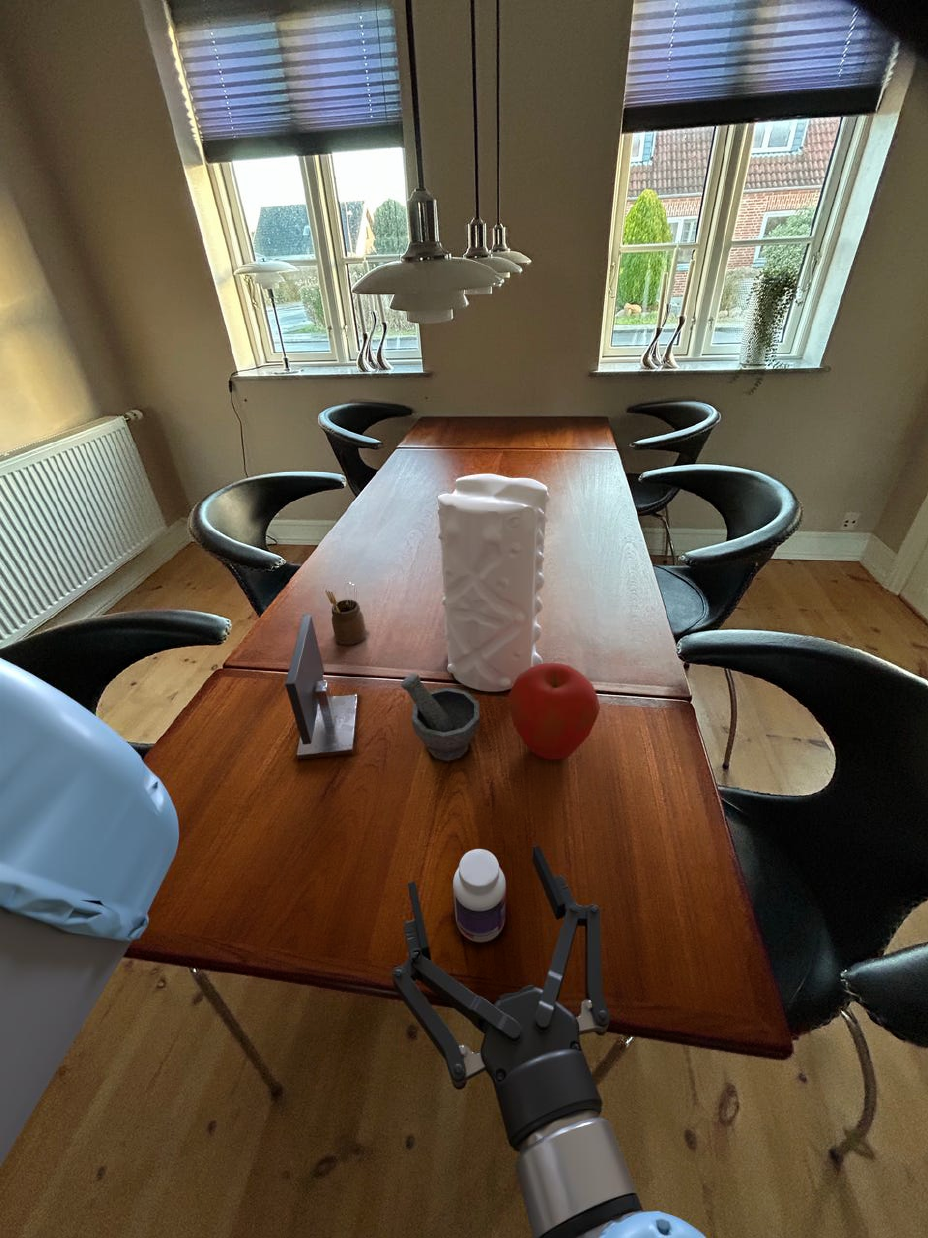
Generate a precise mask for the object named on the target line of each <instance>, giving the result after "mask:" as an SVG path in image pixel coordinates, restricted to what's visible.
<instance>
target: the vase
mask: <svg viewBox="0 0 928 1238" xmlns="http://www.w3.org/2000/svg"><path fill="white" fill-rule="evenodd" d="M454 485H455V489H454V491H453V492H452V493H443V494H439V495H438V496H437V502H438V505H437V506H438V509H437V514H438V524H439V533H438V539H439V540H440V541H439V543H440V557H441V558H440V559H441V560H440V561H441V574H442V589H443V598H442V600H441V604H442V606H444V620H445V633H444V637H445V638H446V650H447V668H446V671H447V672H448V673H450V674H453V677H454V679H455V680H456V681H458V683H460V684H461V685H464V686H466V687H468V688H471V689H475V690H478V691H481V692H482V691H483V692H504V691H507V690H511V689H512V687H513V685H514V683H515V681H516V679H517V677H518V675H520V674H521V673H522V672H524V671H525V670H526V669H528V668H530V667H533V666H536V665H540V664H543V658H542V657H541V655H540V654H538V653H537V649H536V643H537V641H539V640H540V638H541V636H542V627H541V626H540V624H538V615H539V614H540V613H541V612H542V610H543V607H544V604H543V601H542V600H541V598H540V597H541V589H543V587H544V585H545V576H544V575H543V566H544V561H545V557H544V553H545V538H546V537H545V534H546V523H547V522H548V520H549V517H548V515H547V504H548V503H549V501H550V499H551V496H550V494H549V493H548V488H547V487H548V486H547V485H545V484H544V483H542V482H540V481H538V480H536V479H534V478H530V477H507V476H504V475H501V474H500V475H499V474H495V473H478V474H471V475H465V476H461V477H458V478H457V479H456V480H455V482H454Z"/></svg>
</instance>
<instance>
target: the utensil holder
mask: <svg viewBox="0 0 928 1238" xmlns="http://www.w3.org/2000/svg"><path fill="white" fill-rule="evenodd" d="M347 585H349V582H347V583H346V585H344V587H343V588H344V594H347V588H348V586H347ZM351 585H352V586H356V585H355V583H354V582H351ZM353 591H354V592H353V594H354V595H355V597H357V596H358V595H357V594H358V591H357V588H356V587H353ZM325 594H326V596H327V598H328V600H329V602H330V604H332V606H331V615H332V616H331V625H332V629H333V634H334V638H335V640H336V641H337V643H339V644H340V645H345V646H346V645H347V646H350V645H355V644H357V643H360V642H361V641H363V640H364V638H365V637H366V633H367V632H366V631H367V630H366V623H365V618H364V615H363V614H364V613H363V612H362V611H361V607H360V604H359V602H358V601H357V598H353V599H348V598H347V596H343V598H344V599H341V600H339V601H337V599H336V597H335V595H334V593H333V592H332V591H329V590H327V589H326V590H325ZM349 594H352V592H351V586H349Z"/></svg>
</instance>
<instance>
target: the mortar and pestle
mask: <svg viewBox="0 0 928 1238" xmlns="http://www.w3.org/2000/svg"><path fill="white" fill-rule="evenodd" d="M401 688H402V689H403V690H404V691H407V693H408V695H409V696H410V698H411V700H412V701H413V707H412V716H411V723H412V727H413V730H414V733H415V734H416V736H417V737H418V738H419V740H421V741H422V743H423V744H424V745H425V746H426V747H427V750H428V752H429V753H431V754H430V755H432V756H433V757H434V759H438V760H442V761H447V762H449V761H452V760H456V759H460V758H462V756H463V755H464V754H465V753H466V752H467V751H468V750H469V743H470V742H471V741H472V740H473V739H474V738H475V737H476V735H477V734H478V732H479V728H480V702H479V701H478V700H476V698H474V697H473V696H472V695H471V694H470V693H469V692H468V691H467V690H461V689H458V688H452V687H444V688H438V689H435V690H430V691H429V690H428V689H427V687H426V686H425V685H424V684H423V683H422V681H421V676H420V675H419V674H417V673H412V674H409V675H408V676H406V677H405V678H404V679H403V680H402V682H401Z"/></svg>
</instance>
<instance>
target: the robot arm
mask: <svg viewBox="0 0 928 1238" xmlns="http://www.w3.org/2000/svg"><path fill="white" fill-rule="evenodd" d="M179 839H180V827H179V820H178V814H177V810H176V808H175V805H174V803H173V801H172V798H171V796H170V794H169V792H168V789H166V786H165V785H164V784H163V782H162V780H161V779H160V778H159V777H158V776H157V775H156V774H155V773H154V772H153V771H151V769H150V768H149V767H148V766H147V765H146V763H145V762H144V761H143V758H142V755H140V754H139V753H138V752H137V750H135V749H134V747H133V746H131V745H130V743H129V742H128V741H126V739H124V738H123V737H122V736H121V735H120V734H119V733H118V732H117V731H115V730H114V729H113V728H112V727H111V726H109V725H108V724H107V723H106V722H105V721H103V720H102V719H101V718H99V717H98V716H97V715H96V714H94V713H92V712H91V711H90V710H88V709H87V708H86V707H85V706H83V705H82V704H81V703H79V702H78V701H76V700H74V699H73V698H71V697H70V696H68V695H67V694H66V693H64V692H62V691H61V690H59V689H57V688H56V687H54V686H52V685H51V684H49V683H47V682H46V681H44V680H42V679H41V678H39V677H37V676H35V675H34V674H32V673H30V672H29V671H26V670H25V669H23V668H21V667H19V666H18V665H16V664H13V663H11V662H9V661H7V660H5V659H3V658H2V657H0V1168H1V1167H2V1165H3V1164H4V1162H5V1160H6V1158H7V1156H9V1153H10V1151H11V1149H12V1148H13V1146H14V1145H15V1143H16V1141H17V1139H18V1137H19V1136H20V1134H21V1133H22V1130H24V1127H25V1125H26V1124H27V1122H28V1121H29V1119H30V1117H31V1115H32V1114H33V1112H34V1110H35V1109H36V1107H37V1106H38V1103H39V1102H40V1100H41V1098H42V1097H43V1095H44V1093H45V1091H46V1089H47V1088H48V1086H49V1085H50V1083H51V1081H52V1079H53V1077H54V1076H55V1074H56V1073H57V1071H58V1069H59V1067H60V1066H61V1064H62V1062H63V1060H64V1059H65V1057H66V1055H67V1054H68V1052H69V1050H70V1049H71V1048H72V1045H73V1043H74V1041H75V1040H76V1038H77V1036H78V1035H79V1033H80V1031H81V1029H82V1028H83V1026H84V1024H85V1022H86V1021H87V1020H88V1018H89V1016H90V1014H91V1013H92V1011H93V1009H94V1007H95V1006H96V1004H97V1002H98V1001H99V998H100V997H101V995H102V994H103V992H104V990H105V988H106V987H107V985H108V983H109V981H110V980H111V978H112V976H113V975H114V973H115V971H116V969H117V968H118V966H119V964H120V963H121V961H122V959H123V958H124V956H125V954H126V952H127V951H128V949H129V948H130V945H131V943H132V942H133V940H134V941H135V940H139V939H140V938H141V937H142V936H143V933H144V932H145V931H146V929H147V927H148V926H149V921H150V918H149V915H148V912H149V911H150V908H151V906H152V904H153V902H154V900H155V898H156V896H157V894H158V892H159V890H160V888H161V886H162V884H163V881H164V879H165V878H166V876H167V874H168V871H169V870H170V867H171V865H172V863H173V861H174V858H175V856H176V854H177V850H178V846H179ZM531 855H532V857H531V862H532V865H533V867H534V870H535V872H536V875H537V877H538V880H539V881H540V885H541V886H542V889H543V891H544V893H545V896H546V899H547V901H548V903H549V905H550V908H551V910H552V912H553V915H554V918H555V920H556V921H558V920H561V919H563V922H562V924H561V928H560V930H559V931H560V932H559V935H558V938H557V942H556V945H555V948H554V949H555V950H554V953H553V956H552V959H551V964H550V967H549V970H548V971H547V972H548V973H547V975H546V979H545V981H544V985H543V989H542V988H540V987H537V986H534V985H533V984H530V985H528V986H524V987H522V988H521V989H520V990H519V991H517V992H508V993H507V992H506V993H504V994H502V995H499V996H498V999H496V1001H495V1002H494V1003H491V1002H490V1001H488V1000H487V999H485V998H484V997H483V996H481V995H477V994H476V993H474V992H473V991H472V990H470V989H469V988H468V987H466V986H465V984H462V983H461V982H460V981H458V980H457V979H455V977H453V976H451V975H450V974H449V973H448V972H446V971H445V970H443V969H442V968H441V967H440V966H439V965H437V964H436V963H434V962H433V961H432V956H431V950H430V945H429V940H428V935H427V930H426V926H425V921H424V915H423V912H422V906H421V903H420V898H419V893H418V888H417V883H416V881H411V882H407V887H408V891H409V892H408V893H409V898H410V899H409V900H410V903H411V908H412V914H413V918H414V919H411V920H408V921H405V923H404V928H403V929H404V935H405V940H406V945H407V946H406V947H407V951H408V958H407V961H406V962H405V963H403V964H402V965H399V966H396V967H394V968H393V970H392V972H391V978H392V983H393V986H394V989H395V992H396V994H397V995H398V996H399V998H400V999H401V1000H402V1001H403V1003H404V1005H406V1007H407V1009H408V1010H409V1011H410V1012H411V1014H412V1016H413V1017H414V1019H416V1021H417V1023H418V1024H419V1025H420V1026H421V1028H422V1030H423V1031H424V1033H425V1034H426V1035H427V1036H428V1038H429V1039H430V1041H431V1042H432V1043H433V1046H435V1048H436V1049H437V1051H438V1052H439V1053H440V1055H441V1056H442V1058H443V1059H444V1060H445V1064H446V1067H447V1070H448V1073H449V1077H450V1080H451V1083H452V1086H453V1087H454V1089H456V1090H459V1091H460V1090H463V1089H464V1088H466V1085H467V1082H468V1081H469V1080H471V1079H472V1078H475V1077H476V1076H478V1075H480V1074H481V1073H484V1072H486V1073H487V1075H488V1076H489V1078H490V1080H491V1081H492V1084H493V1087H494V1091H495V1095H496V1099H497V1103H498V1107H499V1110H500V1114H501V1120H502V1122H503V1126H504V1131H505V1134H506V1138H507V1142H508V1145H509V1146H510V1147H511V1148H512V1149H513V1150H514V1152H519V1155H518V1156H517V1158H516V1161H515V1164H514V1170H515V1172H516V1176H517V1181H518V1185H519V1187H520V1191H521V1197H522V1199H523V1203H524V1207H525V1211H526V1214H527V1219H528V1223H529V1226H530V1231H531V1234H532V1238H707V1237H706V1236H705V1235H704V1234H703V1233H702V1232H701V1231H700V1230H698V1229H697V1228H695V1226H693V1225H691V1224H690V1223H688V1222H687V1221H685V1220H683V1219H681V1218H680V1217H677V1216H675V1215H672V1214H669V1213H666V1212H662V1211H660V1210H654V1211H644V1209H643V1206H642V1204H641V1200H640V1198H639V1196H638V1193H637V1189H636V1186H635V1184H634V1182H633V1179H632V1176H631V1173H630V1171H629V1168H628V1166H627V1163H626V1160H625V1157H624V1155H623V1152H622V1149H621V1147H620V1144H619V1142H618V1139H617V1137H616V1134H615V1131H614V1129H613V1126H612V1122H611V1121H609V1120H607V1119H605V1118H603V1117H600V1114H601V1113H602V1110H603V1108H602V1106H603V1100H602V1098H601V1095H600V1092H599V1090H598V1087H597V1084H596V1081H595V1079H594V1077H593V1074H592V1072H591V1069H590V1066H589V1063H588V1061H587V1059H586V1056H585V1053H584V1050H583V1048H582V1045H581V1039H580V1036H581V1035H587V1034H591V1033H595V1035H597V1036H598V1037H599V1036H601V1037H603V1036H604V1035H606V1033H607V1031H608V1028H609V1025H610V1021H611V1015H610V1011H609V1008H608V1004H607V1002H606V998H605V996H604V993H603V977H602V975H603V974H602V972H603V971H602V970H603V969H602V934H601V933H602V932H601V931H602V930H601V909H600V907H599V906H598V905H597V904H596V903H595V904H594V903H590V904H589V905H588V906H587V905H580V904H578V903H577V902H576V901H575V897H574V896H573V894H572V892H571V890H570V888H569V885H568V883H567V882H566V879H565V877H563V875H561V874H559V875H555V876H554V874H553V872H552V870H551V868H550V866H549V863H548V861H547V858H546V857H545V855H544V852H543V850H542V847H541V845H540V844H538V845H535V846H533V847H532V854H531ZM578 927H584V999H583V1001H581V1004H580V1010H579V1012H580V1013H579V1015H577V1016H576V1015H575V1014H574V1013H573V1012H572V1011H570V1010H569V1009H567V1008H566V1007H565V1006H564V1005H563V1004H561V1003H560V1002H559V997H560V994H561V990H562V985H563V981H564V978H565V974H566V971H567V966H568V962H569V959H570V955H571V951H572V947H573V943H574V939H575V936H576V932H577V929H578ZM416 981H418V982H419V983H421V984H422V985H423V986H425V987H426V988H428V989H429V990H430V991H431V992H433V993H434V995H436V996H437V997H438V998H440V999H441V1000H442V1001H444V1002H445V1003H447V1005H449V1006H450V1007H452V1008H453V1009H454V1010H456V1011H457V1012H458V1013H459V1014H461V1015H462V1016H463V1017H465V1018H466V1019H467V1020H468V1021H470V1022H471V1025H473V1026H474V1027H475V1028H476V1029H477V1030H478V1031H480V1032H481V1033H482V1034H483V1040H482V1043H481V1046H480V1050H479V1051H480V1052H479V1053H475V1052H473V1051H471V1049H470V1047H469V1046H468V1045H467V1044H460V1045H459V1043H458V1041H457V1039H456V1037H455V1035H454V1034H453V1032H452V1031H451V1029H450V1028H449V1026H448V1025H447V1024H446V1023H445V1022H444V1020H443V1019H442V1018H441V1016H440V1014H439V1013H438V1012H437V1011H436V1009H435V1008H434V1007H433V1005H432V1004H431V1003H430V1002H429V1000H428V998H427V997H426V996H425V995H424V993H423V992H422V990H421V989H420V988H419V987H418V985H417V984H416V983H415V982H416Z"/></svg>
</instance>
